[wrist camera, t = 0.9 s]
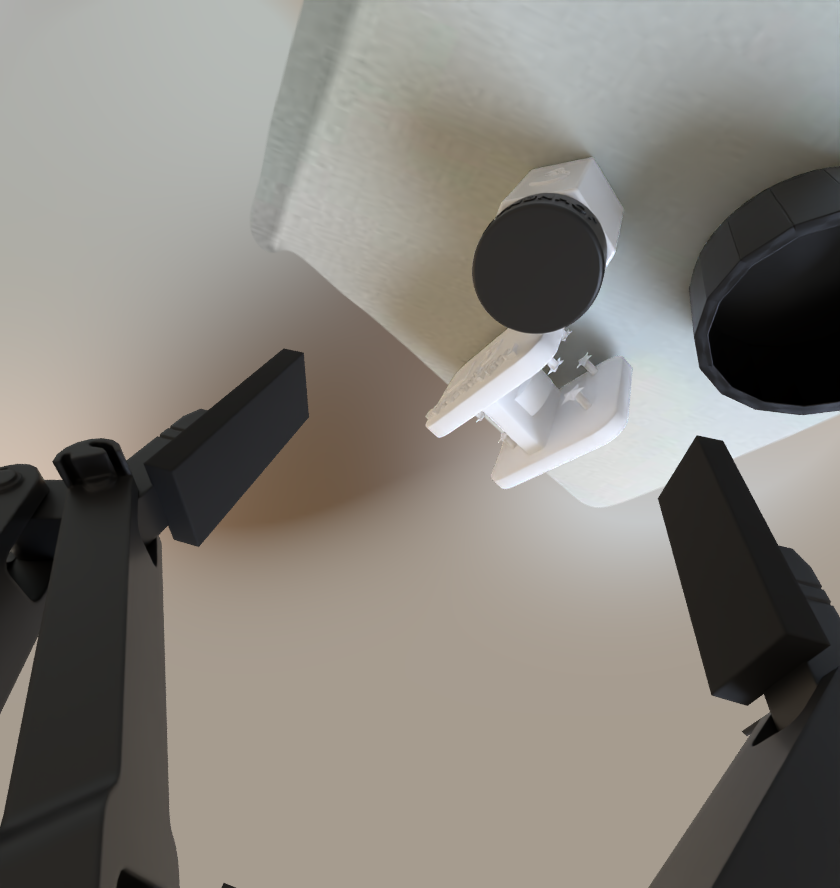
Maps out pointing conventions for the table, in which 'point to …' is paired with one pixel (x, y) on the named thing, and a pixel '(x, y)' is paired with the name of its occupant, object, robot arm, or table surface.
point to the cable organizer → (535, 404)
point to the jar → (548, 247)
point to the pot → (774, 298)
